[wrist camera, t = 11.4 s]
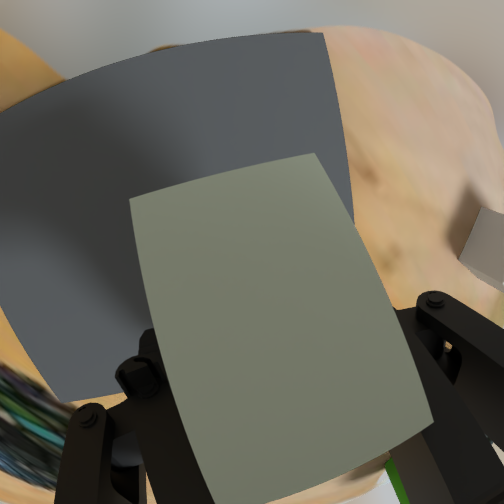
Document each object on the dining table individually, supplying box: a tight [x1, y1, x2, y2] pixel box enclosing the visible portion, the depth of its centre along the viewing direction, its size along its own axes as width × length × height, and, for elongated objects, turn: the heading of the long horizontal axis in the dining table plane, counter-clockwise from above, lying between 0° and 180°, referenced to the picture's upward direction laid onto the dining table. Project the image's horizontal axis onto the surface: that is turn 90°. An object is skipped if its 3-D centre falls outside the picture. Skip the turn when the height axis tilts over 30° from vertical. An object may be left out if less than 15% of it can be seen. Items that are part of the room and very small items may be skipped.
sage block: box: [129, 153, 434, 504], centre depth 10 cm, size 4×6×12 cm
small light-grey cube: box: [458, 207, 504, 293], centre depth 23 cm, size 6×6×6 cm
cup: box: [385, 457, 410, 504], centre depth 33 cm, size 9×9×11 cm
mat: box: [0, 33, 355, 403], centre depth 17 cm, size 24×20×1 cm
